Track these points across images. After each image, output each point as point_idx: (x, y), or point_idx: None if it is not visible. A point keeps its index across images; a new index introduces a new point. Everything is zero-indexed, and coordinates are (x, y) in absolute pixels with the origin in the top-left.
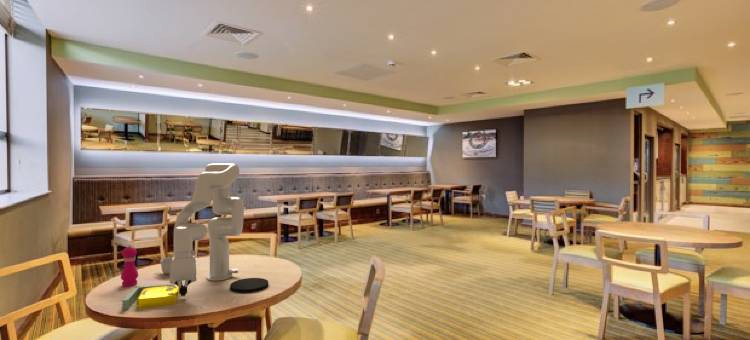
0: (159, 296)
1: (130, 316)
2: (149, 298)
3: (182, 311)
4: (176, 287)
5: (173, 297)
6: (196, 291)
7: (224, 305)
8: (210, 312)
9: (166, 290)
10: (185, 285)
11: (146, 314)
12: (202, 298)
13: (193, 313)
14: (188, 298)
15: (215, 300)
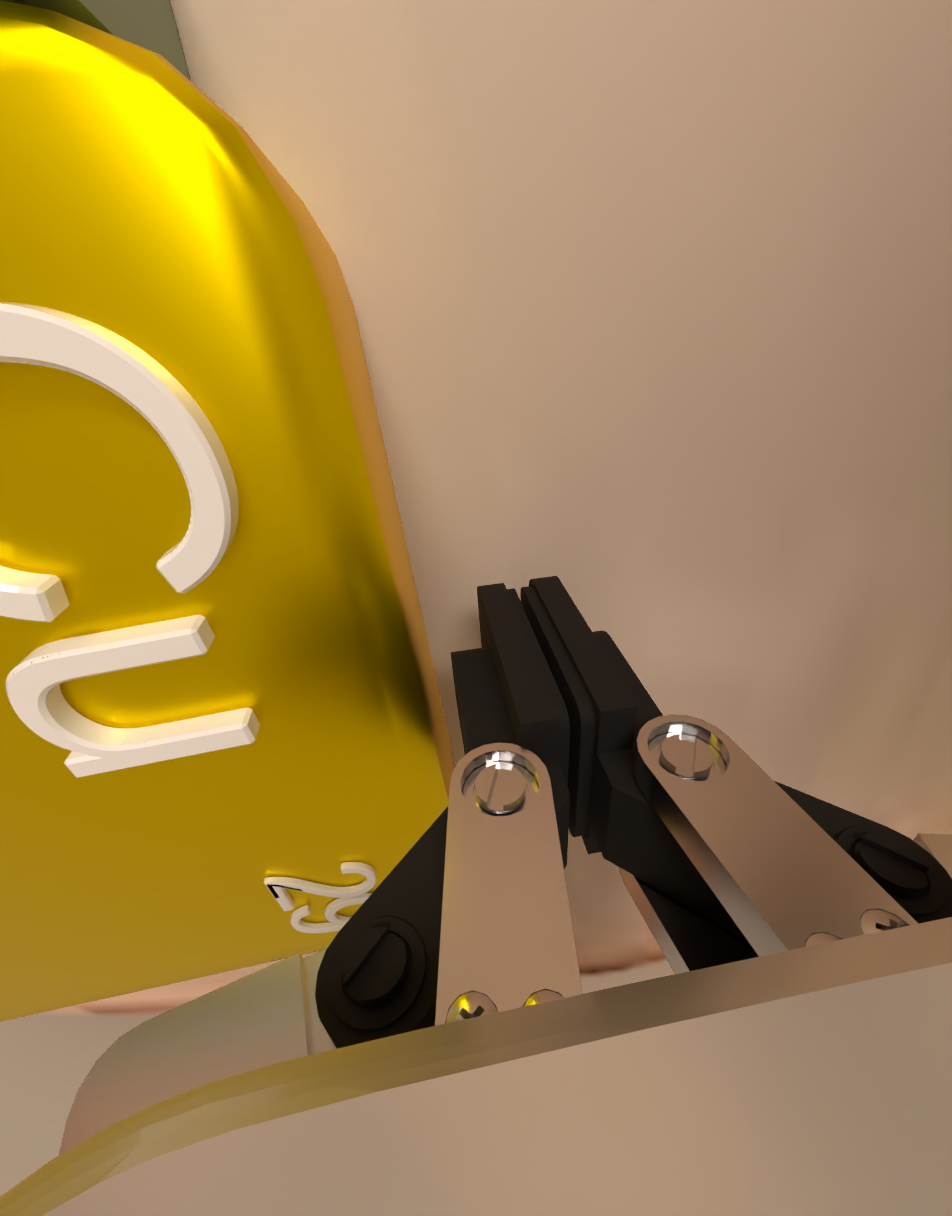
0: (193, 977)
1: (91, 1006)
2: (48, 1010)
3: None
4: (274, 508)
5: None
6: (757, 131)
7: (926, 831)
8: None
9: (107, 760)
10: (655, 876)
11: (236, 974)
12: (788, 642)
13: (656, 942)
14: (590, 616)
15: (909, 721)
